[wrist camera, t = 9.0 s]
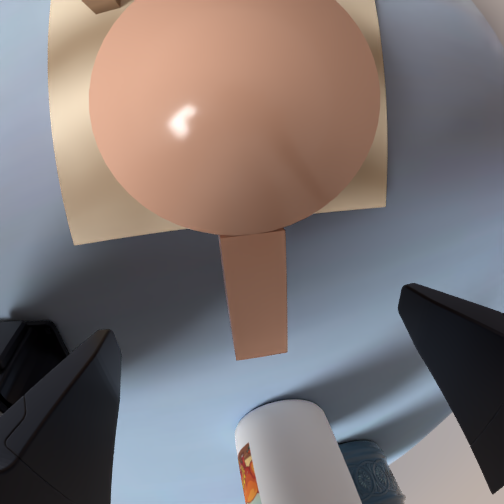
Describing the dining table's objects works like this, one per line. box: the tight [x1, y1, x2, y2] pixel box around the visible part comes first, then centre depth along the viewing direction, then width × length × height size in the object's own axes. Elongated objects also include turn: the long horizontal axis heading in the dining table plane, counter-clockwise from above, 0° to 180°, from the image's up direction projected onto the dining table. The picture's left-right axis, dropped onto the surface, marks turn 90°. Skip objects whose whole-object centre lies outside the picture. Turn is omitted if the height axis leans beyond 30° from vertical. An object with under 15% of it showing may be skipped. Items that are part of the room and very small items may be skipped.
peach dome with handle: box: [89, 0, 380, 361], centre depth 10 cm, size 11×7×6 cm, turn 4°
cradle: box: [48, 0, 387, 246], centre depth 10 cm, size 18×16×3 cm
